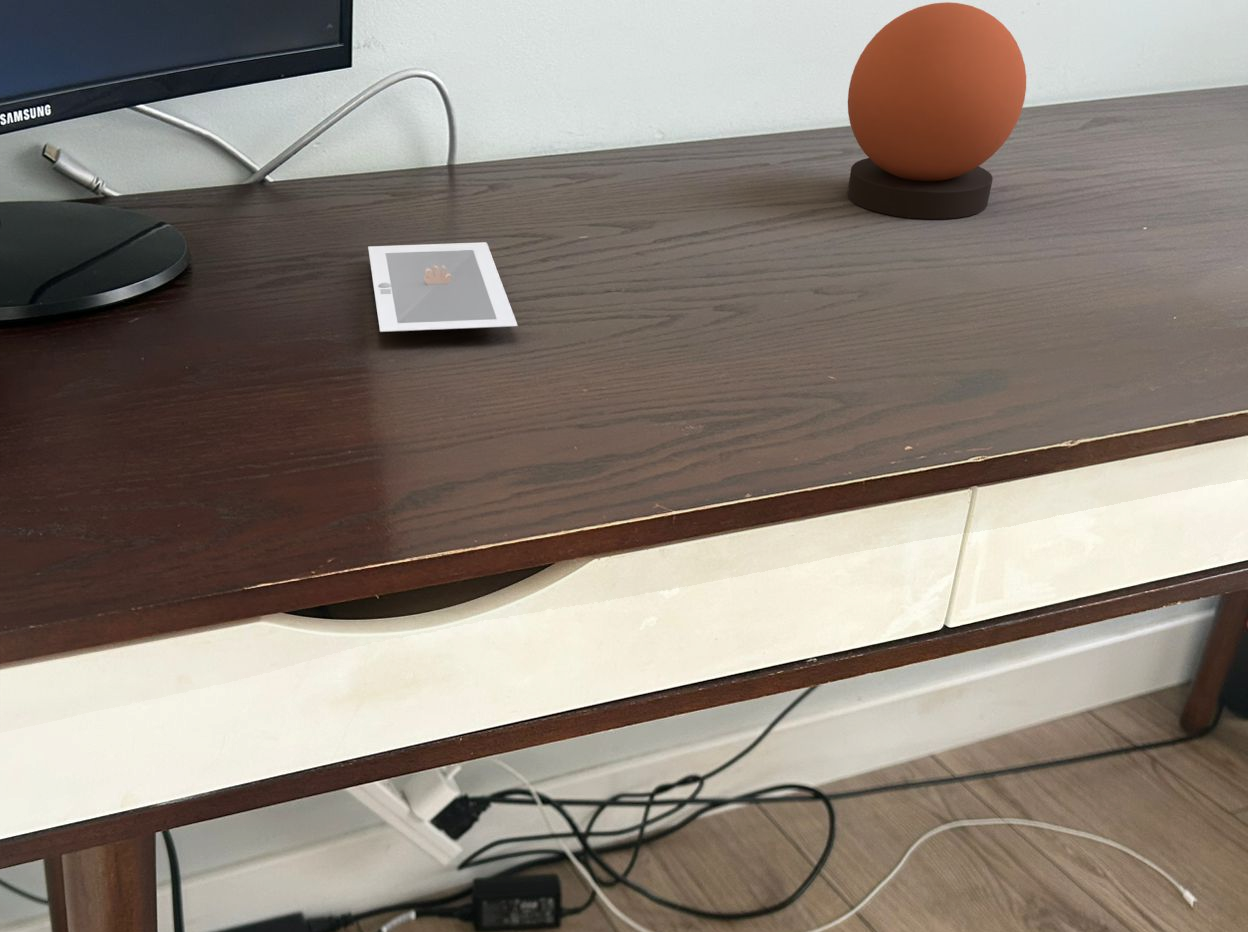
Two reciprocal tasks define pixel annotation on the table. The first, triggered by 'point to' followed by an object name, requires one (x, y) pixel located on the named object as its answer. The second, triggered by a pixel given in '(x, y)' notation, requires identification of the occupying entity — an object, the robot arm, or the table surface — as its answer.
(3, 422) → the table surface
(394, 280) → the touchpad
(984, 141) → the ball
